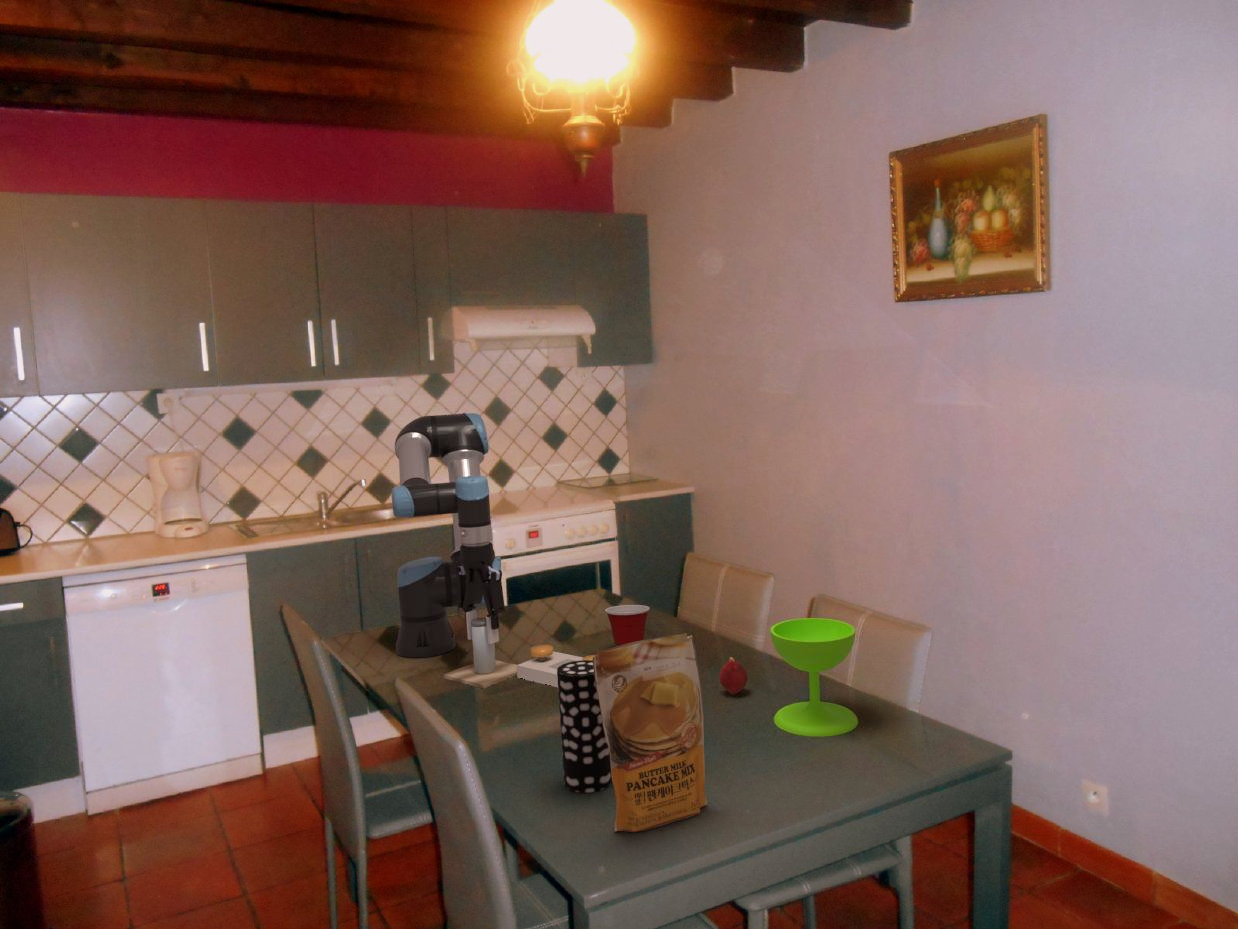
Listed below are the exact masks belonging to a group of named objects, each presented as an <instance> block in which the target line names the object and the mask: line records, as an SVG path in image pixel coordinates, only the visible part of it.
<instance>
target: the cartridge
mask: <svg viewBox="0 0 1238 929" xmlns="http://www.w3.org/2000/svg"><path fill="white" fill-rule="evenodd" d="M471 628H472V639H471V640H472V652H473V653H472V654H473V663H474V671H475V673H478V674H486V673H491V672H494V671H496V662H495V660H496V652H495V651H496V650H495V649H496V648H495V643H493V644H488V634H487V621H486V617H479V618H478V617H477V619H473V620H471Z"/></svg>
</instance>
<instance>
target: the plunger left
mask: <svg viewBox="0 0 1238 929" xmlns="http://www.w3.org/2000/svg"><path fill="white" fill-rule="evenodd" d="M553 651H554V646H553V645H550V644H538V645H534V646H531V647H530V656H531V657H534V658H536V657H538V662H542V663H543V662H545V661H547V656H550V655H552V654H553Z"/></svg>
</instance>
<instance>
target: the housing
mask: <svg viewBox="0 0 1238 929" xmlns="http://www.w3.org/2000/svg"><path fill="white" fill-rule="evenodd" d="M582 658H583V657H582V656H578V655H572V654H567V653H563V652H558V651H554V650H553V654H552V655H550V656H547V661H545V662H543V663H542V662H538V657H534V658H532V659H529V660H527V661H523V662H521V663H519V664H516V665H517V675H516V676H517V679H520V678H523V679H522V680H524V679H525V680H524V681H529V682H533V681H534V682H533V683H538V684H542V685H545V684H547V686H549V685H551V686H550V687H554V688H558V680H557V668H558V667H559V666H561V665H563V664H565V663H568V662H573V661H580V660H582Z"/></svg>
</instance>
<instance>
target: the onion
mask: <svg viewBox="0 0 1238 929" xmlns="http://www.w3.org/2000/svg"><path fill="white" fill-rule="evenodd" d="M718 677H719V683H720V684H721V686H722V687H723V688H724V689H725V690H726V691H727V692H729V694H730V695H732V696H733V695H737V694H738V693H739V692H741V691H742V690H743V689H744V688H745V687H746V685H747V684H748V674H747V671H746V670H745V668H744V667H743V665H742V664H741V663H740V662H738V661H736V659H734V657H732V656H729V661H728V662H727V663H725V664H724V665H723V666H722V668H721V669H720V672H719V676H718Z"/></svg>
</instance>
